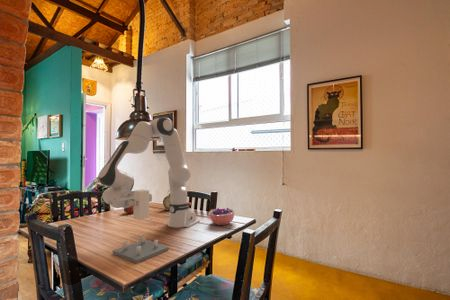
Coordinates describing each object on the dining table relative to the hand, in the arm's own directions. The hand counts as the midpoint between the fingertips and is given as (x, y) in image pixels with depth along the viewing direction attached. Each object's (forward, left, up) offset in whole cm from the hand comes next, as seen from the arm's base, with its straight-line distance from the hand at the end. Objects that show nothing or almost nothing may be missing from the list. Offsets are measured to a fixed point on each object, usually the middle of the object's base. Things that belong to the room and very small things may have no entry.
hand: (142, 202), depth 119 cm
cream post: (0, -1, -7) cm, 8 cm away
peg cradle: (0, -1, -24) cm, 24 cm away
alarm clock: (-67, -53, -24) cm, 89 cm away
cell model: (-60, +4, -24) cm, 65 cm away
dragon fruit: (-42, -70, -24) cm, 85 cm away
